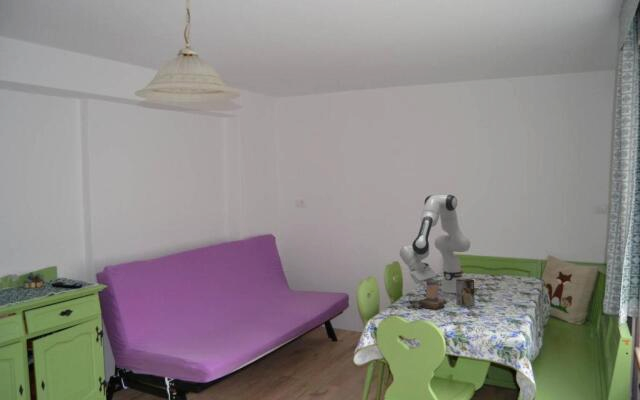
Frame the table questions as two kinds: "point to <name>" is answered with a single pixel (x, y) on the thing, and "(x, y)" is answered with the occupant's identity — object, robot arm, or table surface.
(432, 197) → the robot arm
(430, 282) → the housing
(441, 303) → the walnut stand
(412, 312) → the table surface
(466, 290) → the coffee box
